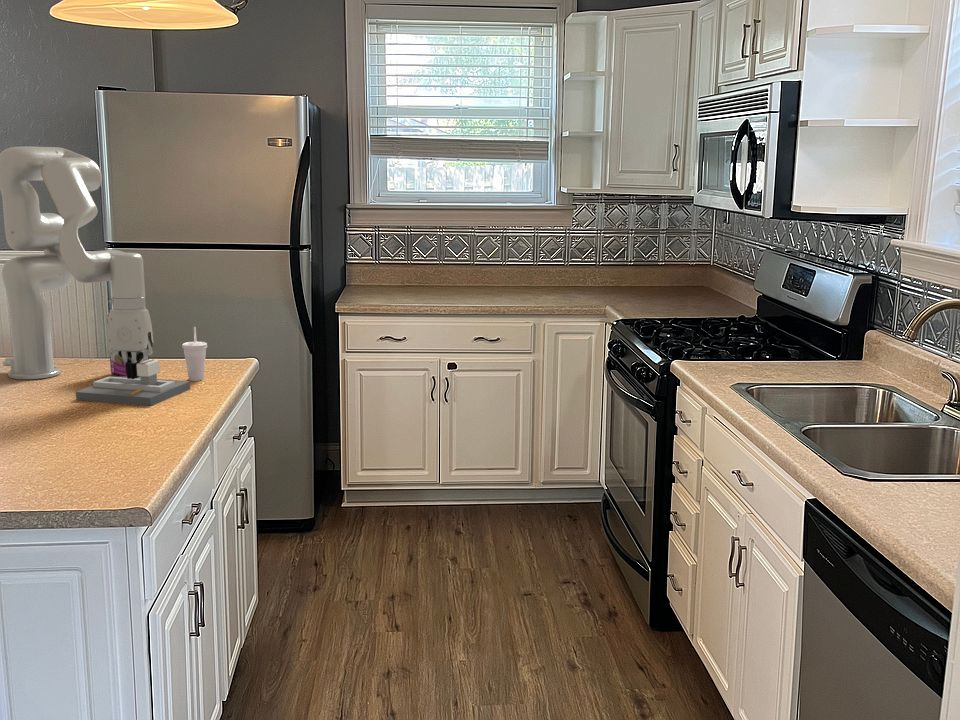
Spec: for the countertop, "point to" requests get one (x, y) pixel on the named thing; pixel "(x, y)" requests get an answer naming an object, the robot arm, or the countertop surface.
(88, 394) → the board
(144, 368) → the fader knob
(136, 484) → the countertop surface
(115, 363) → the candy bar box
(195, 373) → the smoothie
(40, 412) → the countertop surface
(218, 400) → the countertop surface
